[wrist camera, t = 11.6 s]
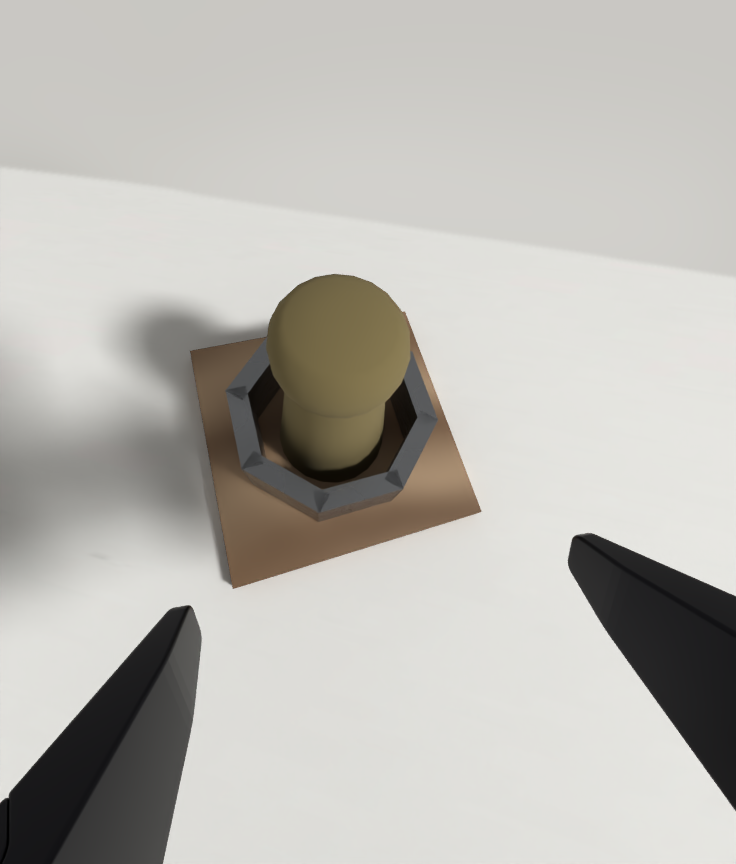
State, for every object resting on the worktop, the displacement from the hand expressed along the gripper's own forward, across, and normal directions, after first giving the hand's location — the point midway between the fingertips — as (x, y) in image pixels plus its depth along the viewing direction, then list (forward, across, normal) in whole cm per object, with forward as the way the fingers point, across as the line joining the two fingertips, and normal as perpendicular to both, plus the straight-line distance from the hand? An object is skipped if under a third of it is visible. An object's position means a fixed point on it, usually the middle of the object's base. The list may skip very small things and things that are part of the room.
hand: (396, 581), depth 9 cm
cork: (+14, 0, +3) cm, 15 cm away
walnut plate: (+15, 0, +3) cm, 15 cm away
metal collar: (+15, 0, +3) cm, 15 cm away
